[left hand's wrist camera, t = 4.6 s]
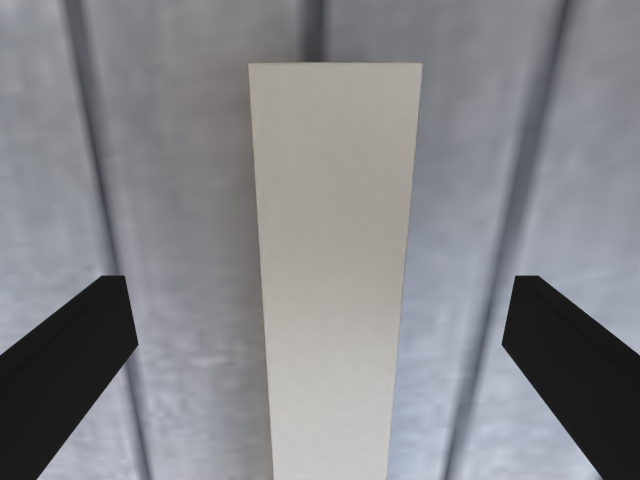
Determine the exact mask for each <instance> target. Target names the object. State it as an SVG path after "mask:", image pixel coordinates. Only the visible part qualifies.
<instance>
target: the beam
mask: <svg viewBox="0 0 640 480" xmlns="http://www.w3.org/2000/svg"><path fill="white" fill-rule="evenodd" d="M422 69H423V63H422V62H250V63H248V76H249V92H250V109H251V125H252V141H253V157H254V173H255V189H256V206H257V222H258V238H259V254H260V270H261V286H262V303H263V319H264V335H265V351H266V367H267V383H268V399H269V416H270V432H271V448H272V464H273V480H386V478H387V466H388V455H389V444H390V432H391V421H392V410H393V398H394V387H395V376H396V364H397V353H398V342H399V330H400V319H401V308H402V296H403V285H404V274H405V262H406V251H407V239H408V228H409V217H410V205H411V194H412V183H413V171H414V160H415V149H416V137H417V126H418V115H419V103H420V92H421V81H422Z"/></svg>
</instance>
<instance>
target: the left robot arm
mask: <svg viewBox="0 0 640 480" xmlns="http://www.w3.org/2000/svg"><path fill="white" fill-rule="evenodd" d="M137 346H138V340H137V335H136V330H135V325H134V320H133V315H132V310H131V305H130V300H129V295H128V290H127V285H126V280H125V276H101V277H99V278H98V279H97V280H96V281H94V282H93V283H92V284H90V285H89V286H88V287H87V288H85V289H84V290H83V291H82V292H80V293H79V294H78V295H76V296H75V297H74V298H73V299H71V300H70V301H69V302H68V303H66V304H65V305H64V306H62V307H61V308H60V309H59V310H57V311H56V312H55V313H54V314H52V315H51V316H50V317H48V318H47V319H46V320H45V321H43V322H42V323H41V324H40V325H38V326H37V327H36V328H34V329H33V330H32V331H31V332H29V333H28V334H27V335H26V336H24V337H23V338H22V339H20V340H19V341H18V342H17V343H15V344H14V345H13V346H12V347H10V348H9V349H8V350H6V351H5V352H4V353H3V354H1V355H0V480H37V478H38V477H39V476H40V474H41V473H42V472H43V471H44V469H45V468H46V467H47V465H48V464H49V463H50V461H51V460H52V459H53V457H54V456H55V455H56V453H57V452H58V451H59V449H60V448H61V447H62V445H63V444H64V443H65V441H66V440H67V439H68V437H69V436H70V435H71V433H72V432H73V431H74V429H75V428H76V427H77V425H78V424H79V423H80V421H81V420H82V419H83V418H84V416H85V415H86V414H87V412H88V411H89V410H90V408H91V407H92V406H93V404H94V403H95V402H96V400H97V399H98V398H99V396H100V395H101V394H102V392H103V391H104V390H105V388H106V387H107V386H108V384H109V383H110V382H111V380H112V379H113V378H114V376H115V375H116V374H117V372H118V371H119V370H120V369H121V367H122V366H123V365H124V363H125V362H126V361H127V359H128V358H129V357H130V355H131V354H132V353H133V351H134V350H135V349H136V347H137ZM502 346H503V347H504V349H505V350H506V351H507V353H508V354H509V355H510V357H511V358H512V359H513V361H514V362H515V363H516V365H517V366H518V367H519V369H520V370H521V371H522V372H523V374H524V375H525V376H526V378H527V379H528V380H529V382H530V383H531V384H532V386H533V387H534V388H535V390H536V391H537V392H538V394H539V395H540V396H541V398H542V399H543V400H544V402H545V403H546V404H547V406H548V407H549V408H550V410H551V411H552V412H553V414H554V415H555V416H556V418H557V419H558V420H559V421H560V423H561V424H562V425H563V427H564V428H565V429H566V431H567V432H568V433H569V435H570V436H571V437H572V439H573V440H574V441H575V443H576V444H577V445H578V447H579V448H580V449H581V451H582V452H583V453H584V455H585V456H586V457H587V459H588V460H589V461H590V463H591V464H592V465H593V467H594V468H595V469H596V471H597V472H598V473H599V474H600V476H601V477H602V478H603V480H640V355H639V354H637V353H636V352H635V351H634V350H632V349H631V348H630V347H628V346H627V345H626V344H625V343H623V342H622V341H621V340H620V339H618V338H617V337H616V336H614V335H613V334H612V333H611V332H609V331H608V330H607V329H606V328H604V327H603V326H602V325H600V324H599V323H598V322H597V321H595V320H594V319H593V318H592V317H590V316H589V315H588V314H586V313H585V312H584V311H583V310H581V309H580V308H579V307H578V306H576V305H575V304H574V303H572V302H571V301H570V300H569V299H567V298H566V297H565V296H564V295H562V294H561V293H560V292H558V291H557V290H556V289H555V288H553V287H552V286H551V285H550V284H548V283H547V282H546V281H544V280H543V279H542V278H541V277H539V276H515V280H514V285H513V290H512V295H511V300H510V305H509V310H508V315H507V320H506V325H505V330H504V335H503V340H502Z"/></svg>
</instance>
